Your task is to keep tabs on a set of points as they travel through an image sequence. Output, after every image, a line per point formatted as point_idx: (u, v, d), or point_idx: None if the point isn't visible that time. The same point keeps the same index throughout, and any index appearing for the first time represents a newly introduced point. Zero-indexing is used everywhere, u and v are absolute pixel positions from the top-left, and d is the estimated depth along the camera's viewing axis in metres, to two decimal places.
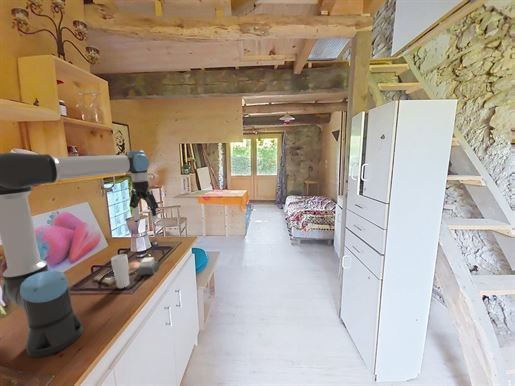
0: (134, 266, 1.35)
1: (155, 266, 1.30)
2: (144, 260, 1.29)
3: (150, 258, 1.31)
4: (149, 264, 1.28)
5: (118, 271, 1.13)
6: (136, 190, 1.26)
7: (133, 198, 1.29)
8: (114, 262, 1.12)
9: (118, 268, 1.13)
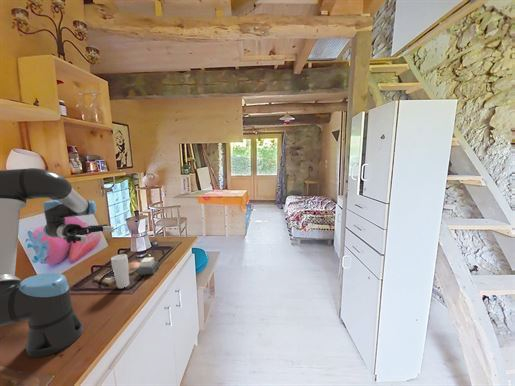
0: (134, 266, 1.35)
1: (155, 266, 1.30)
2: (144, 260, 1.29)
3: (150, 258, 1.31)
4: (149, 264, 1.28)
5: (118, 271, 1.13)
6: (71, 231, 1.19)
7: (68, 236, 1.14)
8: (114, 262, 1.12)
9: (118, 268, 1.13)
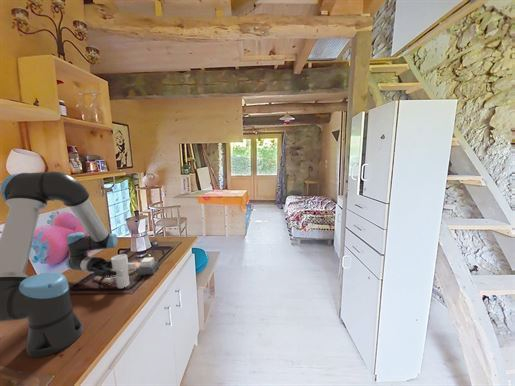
0: None
1: (155, 266, 1.30)
2: (144, 260, 1.29)
3: (150, 258, 1.31)
4: (149, 264, 1.28)
5: None
6: (94, 266, 1.17)
7: None
8: (114, 262, 1.12)
9: (118, 268, 1.13)
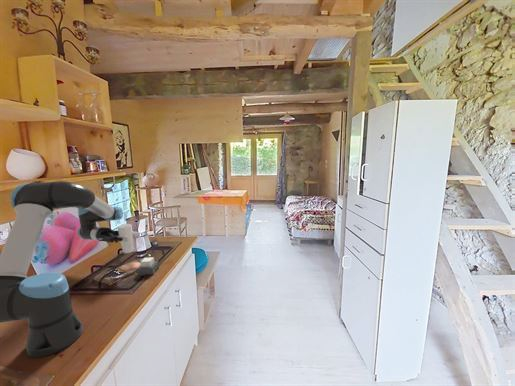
0: (134, 266, 1.35)
1: (155, 266, 1.30)
2: (144, 260, 1.29)
3: (150, 258, 1.31)
4: (149, 264, 1.28)
5: None
6: (103, 234, 1.33)
7: None
8: (121, 229, 1.27)
9: (124, 235, 1.28)
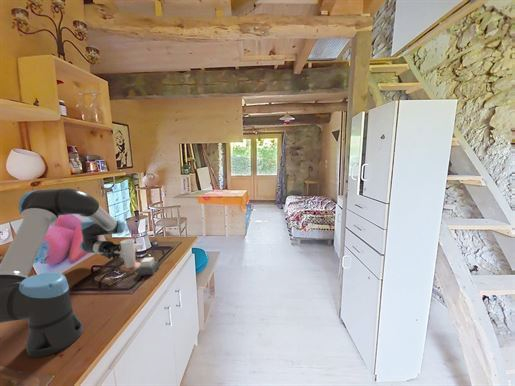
0: None
1: (155, 266, 1.30)
2: (144, 260, 1.29)
3: (150, 258, 1.31)
4: (149, 264, 1.28)
5: (126, 253, 1.30)
6: (106, 248, 1.35)
7: None
8: (123, 245, 1.29)
9: (126, 250, 1.30)
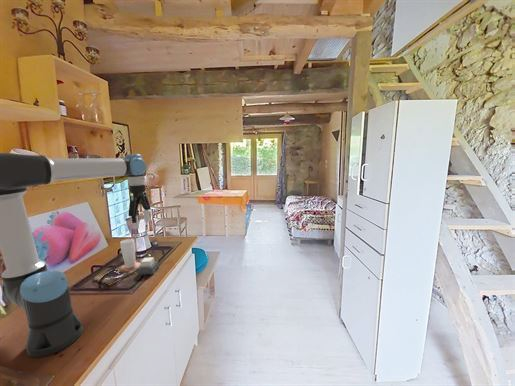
0: (134, 266, 1.35)
1: (155, 266, 1.30)
2: (144, 260, 1.29)
3: (150, 258, 1.31)
4: (149, 264, 1.28)
5: (126, 253, 1.30)
6: None
7: None
8: (123, 245, 1.29)
9: (126, 250, 1.30)
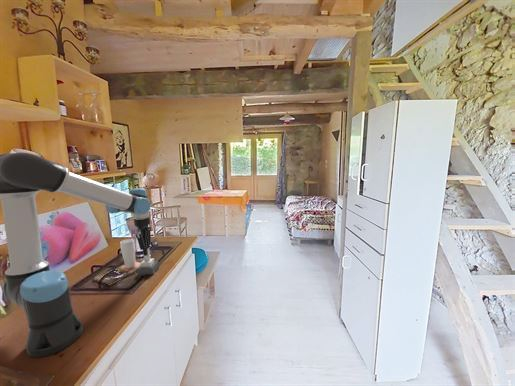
0: (134, 266, 1.35)
1: (155, 266, 1.30)
2: (144, 261, 1.29)
3: None
4: (149, 265, 1.28)
5: (126, 253, 1.30)
6: None
7: None
8: (123, 245, 1.29)
9: (126, 250, 1.30)
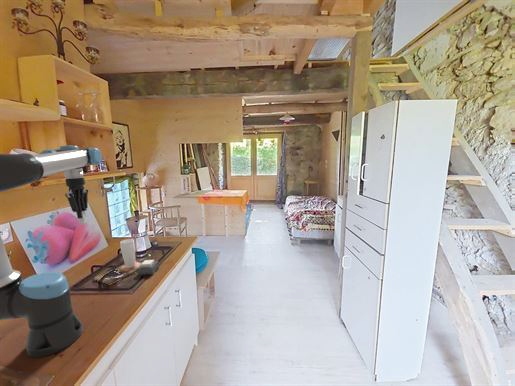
0: (134, 266, 1.35)
1: (155, 266, 1.30)
2: (144, 263, 1.29)
3: (150, 260, 1.31)
4: (149, 266, 1.28)
5: (126, 253, 1.30)
6: None
7: None
8: (123, 245, 1.29)
9: (126, 250, 1.30)
